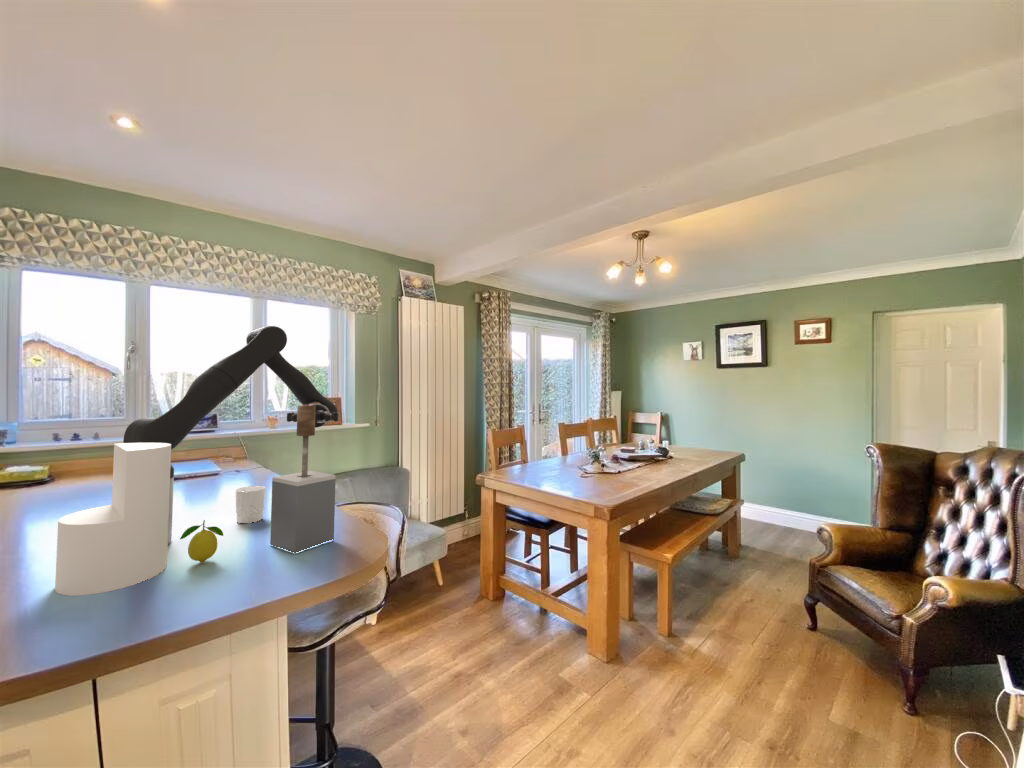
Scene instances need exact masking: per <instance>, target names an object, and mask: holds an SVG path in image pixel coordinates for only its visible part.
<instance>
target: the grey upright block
mask: <svg viewBox="0 0 1024 768" xmlns="http://www.w3.org/2000/svg"><path fill="white" fill-rule="evenodd" d="M336 477H337V475H336V474H332V473H327V472H320V471H314V470H308V474H307V477H304V478H302V471H301V472H295V473H290V474H284V475H277V476H272V477H271V478H272V479H271V505H270V506H271V508H270V510H271V511H270V512H271V514H270V535H269V537H270V538H269V539H270V540H269V541H270V542H269V545H270V544H271V545H273V546H276V547H280V548H283V549H286V550H288V551H291V552H294V553H296V552H299V551H301V550H304V549H307V548H310V547H312V546H315V545H318V544H321V543H323V542H326V541H329V540H332V539H334V540H335V513H336V512H335V510H336Z"/></svg>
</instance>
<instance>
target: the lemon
mask: <svg viewBox="0 0 1024 768" xmlns="http://www.w3.org/2000/svg"><path fill="white" fill-rule="evenodd" d="M205 522H206V521H205V519H203V522H202V524H201V525H192V526H190V527H188V528H187V529H185V531H184V532H183V533H182V535H181V536H180V537H179V540H183V539H185V538H187V537H188V536H190V535H191V534H192V533H194V532H196V531H197V530H199V528H201V526H202V529H201V531H199V532H197V533H196V534H195V535H194V536H192V538H191V539H190V541H189V544H188V548H187V553H188V557H189V559H191V560H192V561H195V562H200V563H201V564H204V563H205V562H206V561H207V560H208V559H210V558H212V557H213V556H214V555H215V553H216V552H217V549H218V539H217V536H216V535H219V536H222V537H223V536H224V532H223V530H222V529H221V528H220V527H218V526H205ZM205 528H206V529H205Z"/></svg>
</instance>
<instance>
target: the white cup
mask: <svg viewBox="0 0 1024 768" xmlns="http://www.w3.org/2000/svg"><path fill="white" fill-rule="evenodd" d="M265 496H266V486H263V485H250V486H242V487H239V488H236V489H235V509H236V510H235V511H236V523H237V522H238V523H237V524H240V523H248V524H253V523H252V522H254V523H258V522H260V521H262V520H263V517H264V516H263V515H264V512H263V511H264V508H265V498H266V497H265ZM261 519H262V520H261ZM259 520H260V521H259ZM257 521H258V522H257Z"/></svg>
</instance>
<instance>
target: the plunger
mask: <svg viewBox="0 0 1024 768" xmlns="http://www.w3.org/2000/svg"><path fill="white" fill-rule="evenodd" d="M311 405H312V404H306V405H303V404H301V405H297V407H296V408H297V410H296V413H297V422H296V436H298V437H302V453H301V472H302V478H304V477H307V474H308V471H309V470H308V468H309V467H308V466H309V464H308V462H309V439H310V438H309V437H311V436H315V435H316V428H315V409H316V406H311Z"/></svg>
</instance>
